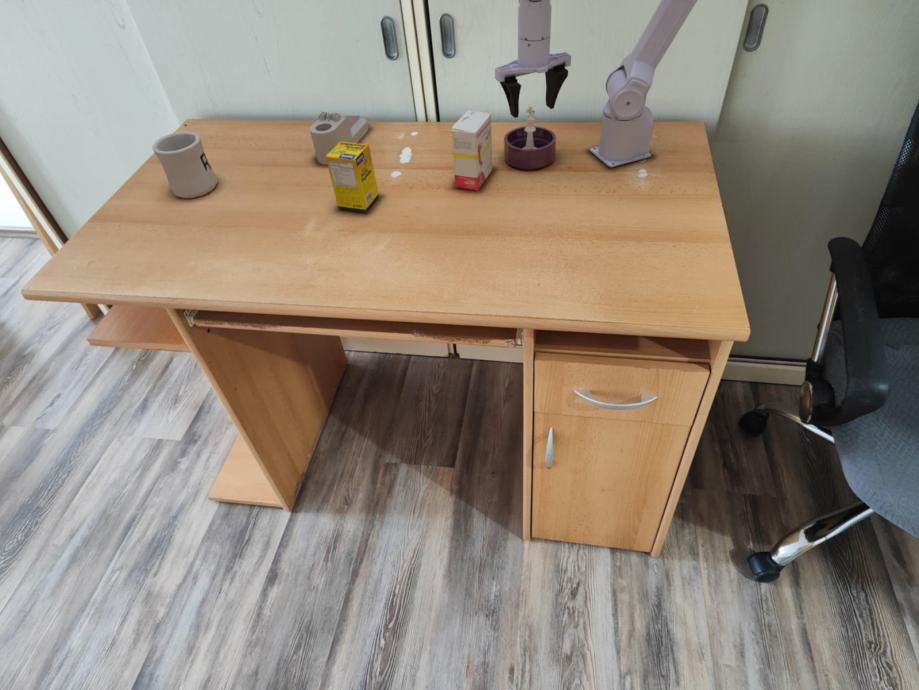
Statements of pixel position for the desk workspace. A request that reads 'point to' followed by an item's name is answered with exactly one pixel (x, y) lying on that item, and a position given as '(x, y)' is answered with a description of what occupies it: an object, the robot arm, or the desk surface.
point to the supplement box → (352, 176)
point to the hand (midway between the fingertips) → (532, 111)
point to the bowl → (529, 157)
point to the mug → (185, 164)
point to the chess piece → (530, 128)
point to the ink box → (472, 149)
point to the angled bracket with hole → (335, 132)
